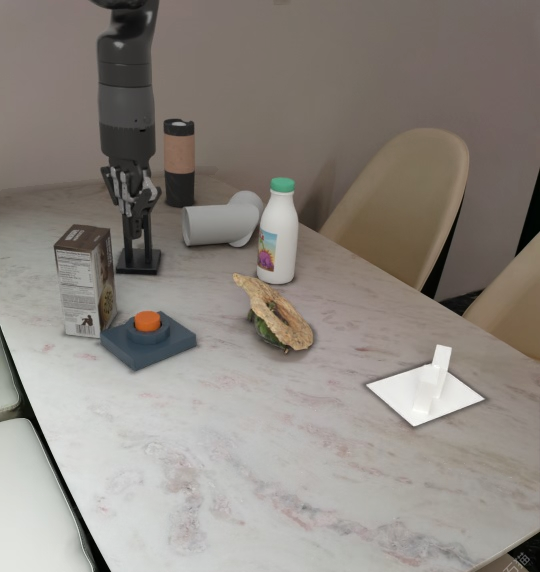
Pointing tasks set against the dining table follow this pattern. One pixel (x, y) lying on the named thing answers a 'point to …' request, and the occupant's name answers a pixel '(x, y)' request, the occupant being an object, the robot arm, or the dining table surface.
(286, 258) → the milk bottle
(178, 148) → the travel mug
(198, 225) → the elbow connector
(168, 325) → the button box
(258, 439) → the dining table surface
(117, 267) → the bracket
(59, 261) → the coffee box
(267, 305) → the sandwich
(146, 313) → the button
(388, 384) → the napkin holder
